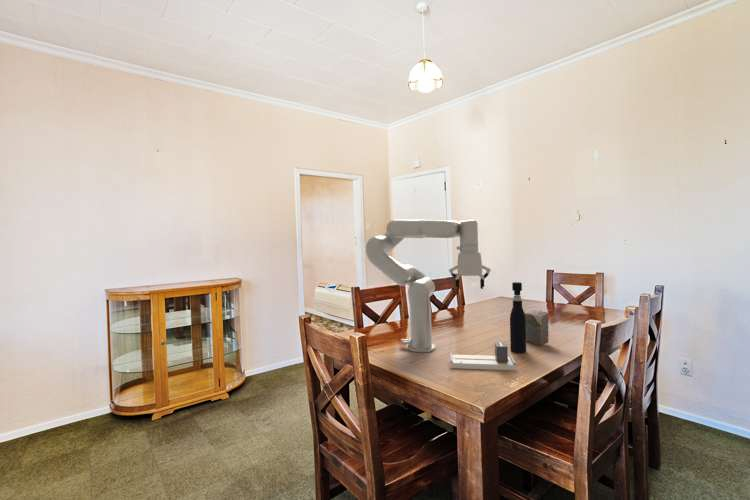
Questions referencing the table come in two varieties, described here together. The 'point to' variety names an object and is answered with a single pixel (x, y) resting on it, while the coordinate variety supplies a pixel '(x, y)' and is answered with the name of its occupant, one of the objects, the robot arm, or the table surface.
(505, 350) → the fader knob
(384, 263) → the robot arm
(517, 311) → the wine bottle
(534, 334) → the geological specimen
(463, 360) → the fader panel
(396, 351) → the table surface
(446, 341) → the table surface
